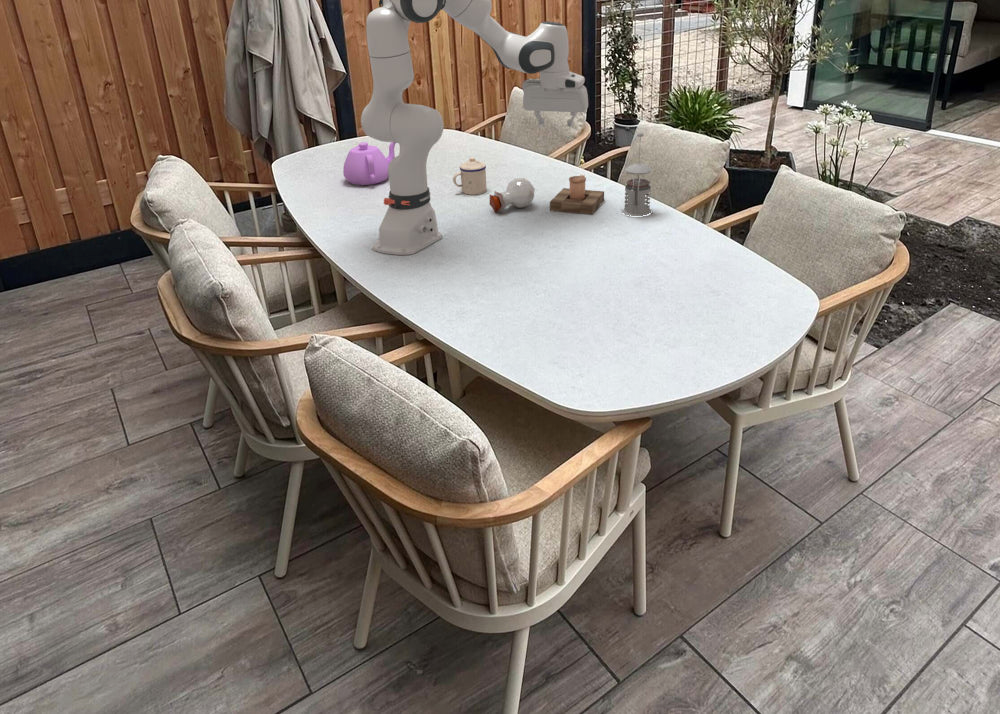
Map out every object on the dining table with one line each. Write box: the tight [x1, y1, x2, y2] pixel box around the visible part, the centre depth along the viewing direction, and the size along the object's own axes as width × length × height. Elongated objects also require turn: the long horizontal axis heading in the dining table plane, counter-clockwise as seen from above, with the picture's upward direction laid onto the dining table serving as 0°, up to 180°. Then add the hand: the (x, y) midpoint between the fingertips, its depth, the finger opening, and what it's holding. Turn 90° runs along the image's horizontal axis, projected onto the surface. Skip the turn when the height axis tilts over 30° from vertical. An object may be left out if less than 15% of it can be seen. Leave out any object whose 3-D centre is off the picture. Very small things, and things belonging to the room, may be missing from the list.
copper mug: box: [568, 174, 587, 200], centre depth 247 cm, size 8×5×9 cm, turn 158°
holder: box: [549, 187, 605, 216], centre depth 248 cm, size 14×14×3 cm
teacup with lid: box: [452, 156, 487, 196], centre depth 263 cm, size 12×9×12 cm
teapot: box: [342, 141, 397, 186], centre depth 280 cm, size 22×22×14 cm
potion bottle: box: [489, 177, 535, 214], centre depth 247 cm, size 9×10×15 cm
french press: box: [621, 131, 653, 216], centre depth 234 cm, size 10×12×25 cm
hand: (555, 125), depth 237 cm, fingers open, 8 cm apart
